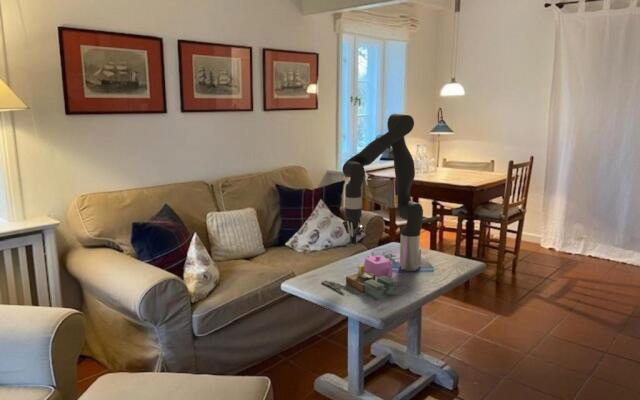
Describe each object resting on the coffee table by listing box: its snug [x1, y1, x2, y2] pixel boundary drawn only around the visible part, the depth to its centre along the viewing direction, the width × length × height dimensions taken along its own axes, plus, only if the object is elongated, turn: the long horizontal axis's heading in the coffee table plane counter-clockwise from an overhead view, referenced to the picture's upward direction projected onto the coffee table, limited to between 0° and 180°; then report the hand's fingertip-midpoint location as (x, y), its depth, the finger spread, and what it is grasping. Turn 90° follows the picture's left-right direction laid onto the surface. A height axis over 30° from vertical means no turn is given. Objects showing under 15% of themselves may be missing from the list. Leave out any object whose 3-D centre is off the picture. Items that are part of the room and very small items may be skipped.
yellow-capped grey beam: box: [357, 264, 374, 280], centre depth 215 cm, size 2×8×5 cm, turn 34°
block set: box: [345, 271, 398, 302], centre depth 213 cm, size 11×21×6 cm, turn 34°
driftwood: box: [321, 280, 360, 297], centre depth 216 cm, size 21×7×2 cm, turn 34°
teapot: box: [363, 254, 393, 279], centre depth 227 cm, size 18×10×10 cm, turn 24°
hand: (353, 243), depth 220 cm, fingers closed
